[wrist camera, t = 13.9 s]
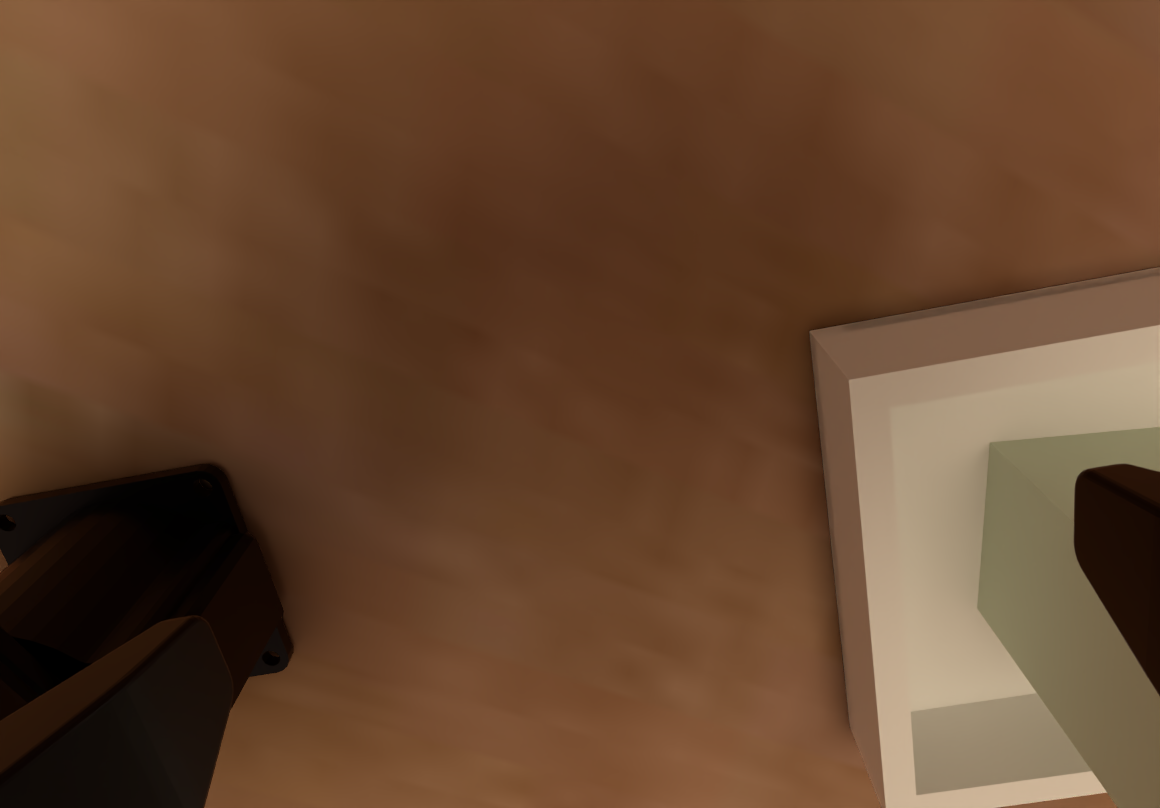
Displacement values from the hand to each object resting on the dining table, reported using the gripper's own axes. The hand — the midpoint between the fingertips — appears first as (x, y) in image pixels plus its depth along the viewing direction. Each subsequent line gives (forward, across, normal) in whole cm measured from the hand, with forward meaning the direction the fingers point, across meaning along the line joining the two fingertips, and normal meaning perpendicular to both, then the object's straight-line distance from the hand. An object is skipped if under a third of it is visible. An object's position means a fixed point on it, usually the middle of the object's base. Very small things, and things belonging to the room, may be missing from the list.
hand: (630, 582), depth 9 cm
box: (+13, -11, +8) cm, 19 cm away
